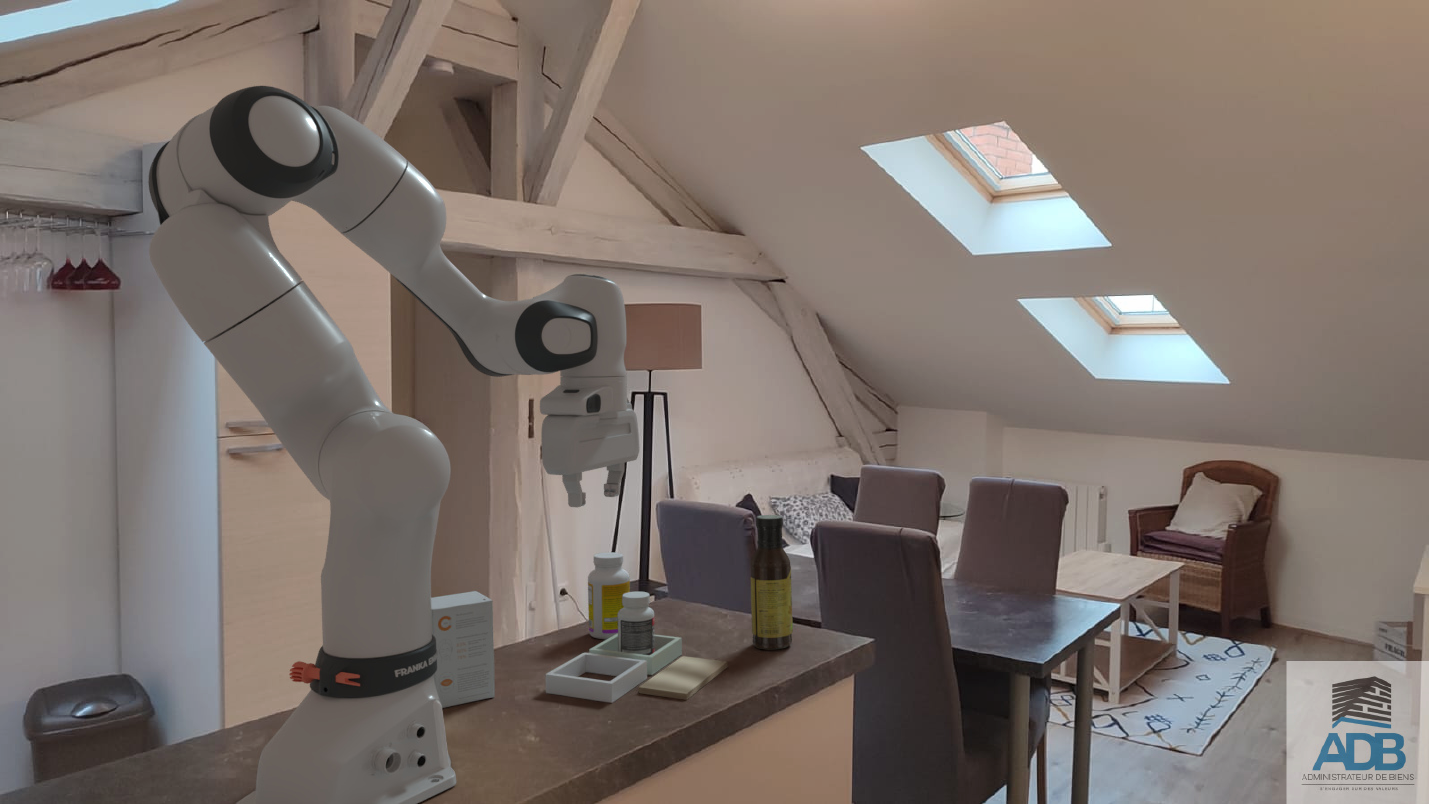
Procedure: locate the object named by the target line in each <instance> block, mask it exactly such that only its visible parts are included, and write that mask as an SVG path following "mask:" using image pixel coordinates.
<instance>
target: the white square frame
mask: <svg viewBox="0 0 1429 804" xmlns="http://www.w3.org/2000/svg"><path fill="white" fill-rule="evenodd" d="M585 673H592V674H597V675H598V674H599V675H606V676H613V679H611V680H602V679H595V678H590V677H589V678H588V677H582V676H581V675H584V674H585ZM614 676H615V677H614ZM647 680H648V674H647V661H646V660H638V659H630V658H623V657H615V656H607V655H600V654H592V653H589V652H582V653H581V654H579V655H577V656H575V657H574V658H572V659H570V660H568V661H566V662H564V663H563V664H561V665H559V666H557V667H556V668H554V669H552V670H551V671H548V672H547V673H545V694H551V695H557V696H564V697H570V698H577V699H585V700H590V701H599V702H603V703H611V704H612V703H614V702H616V701H617V700H618V699H620V698H622V697H623V696H625V694H627V693H628V692H630V691H632V690H633V689H634V688H635V687H637V686H640V685H641V684H642V683H643V682H644V681H647Z"/></svg>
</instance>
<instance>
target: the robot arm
mask: <svg viewBox="0 0 1429 804" xmlns="http://www.w3.org/2000/svg"><path fill="white" fill-rule="evenodd" d="M147 183H148V190H149V194H150V199H151V202H152V205H153V207H154V209H155V210H156V212H157V215H158V222H159V227H158V228H157V229H156V231H155V232H154V234H153V236H152V237H151V239H150V242H149V247H148V252H149V253H148V255H149V259H150V262H151V264H152V267H153V269H154V271H155V273H156V274H157V275H158V278H159V280H160V282H161V284H162V285H163V287H164V289H165V291H166V292H167V294H168V295H169V297H170V298H171V301H172V302H173V303H174V305H175V306H176V308H177V309H178V311H179V312H180V314H181V316H182V317H183V319H184V320H185V321H186V322H187V324H188V325H189V327H190V328H191V330H192V331H193V332H194V333H195V334H196V336H197V337H198V338H199V340H200V341H201V342H202V343H203V345H204V346H205V348H207V349H208V351H209V352H210V353H211V354H212V355H213V357H214V358H215V360H217V361H218V363H219V364H220V365H221V366H222V367H223V369H224V370H225V371H226V373H227V374H228V375H229V376H230V377H231V379H232V380H233V382H235V384H236V386H238V387H239V388H240V390H241V391H242V392H243V394H244V395H246V397H247V398H248V399H249V401H250V402H251V403H252V404H253V405H254V407H255V408H256V409H257V411H258V412H259V413H260V415H261V416H262V418H263V419H264V420H265V422H266V424H267V425H268V426H269V428H270V429H271V430H272V432H273V433H274V435H275V436H276V437H277V439H278V440H279V442H280V443H281V444H282V446H283V447H284V448H285V450H286V451H287V453H288V454H289V455H290V457H291V458H292V459H293V461H294V462H295V463H296V465H297V466H298V468H299V469H300V470H301V471H302V472H303V474H304V475H305V476H306V478H307V479H308V480H309V481H310V483H311V484H312V486H314V488H315V489H316V491H318V493H319V494H320V495H322V496H323V497H324V498H325V499H327V500H328V501H329V504H330V505H329V507H330V508H329V509H330V514H329V515H330V517H329V528H328V529H329V530H328V536H327V537H328V538H327V546H326V553H325V559H324V564H323V567H322V569H321V573H320V587H321V589H320V590H321V593H320V595H321V624H322V625H321V627H322V633H321V634H322V646H320V647H319V650H318V653H317V657H316V660H315V663H307V662H304V661H300V660H299V661H296V662H294V663H293V664H292V665H291V668H290V669H289V676H290V677H289V679H290V680H291V681H292V682H295V683H302V682H303V683H304V684H309V688H310V690H309V692H308V693H307V695H305V697H303V699H302V701H301V702H300V703H299V705H298V706H297V707H296V708H295V709H294V711H293V712H292V713H291V715H290V716H289V717H288V718H287V719H286V720H285V722H284V723H283V725H282V726H281V727H280V728H279V729H278V731H276V733H275V734H274V735H273V737H271V738H270V740H269V741H268V742H267V743H266V745H265V746H264V747H263V749H262V751H261V753H260V757H259V761H258V765H257V771H256V772H257V773H256V781H255V782H256V784H255V790H253V791H252V792H250V793H249V794H247V795H246V796H244V797H243V798H242V799H240V800H238V801H237V802H236V803H235V804H418V803H421V802H423V801H425V800H427V799H429V798H431V797H434V796H436V795H438V794H441V793H442V792H444V791H446V790H449V789H450V788H453V787H454V786H455V785H456V784H457V776H456V775H457V774H456V771H455V770H454V769H453V768H452V766H451V764H452V760H451V757H450V755H449V752H448V744H447V736H446V735H447V734H446V727H445V722H444V713H443V708H442V705H441V702H440V699H439V696H438V693H437V690H436V686H435V681H434V673H435V672H436V671H437V658H438V650H437V649H436V638H435V637H434V636H433V635H432V614H431V598H432V561H433V553H434V552H433V551H434V546H435V541H436V534H437V528H438V523H439V516H440V509H441V503H442V502H441V501H442V499H443V497H444V496H445V494H446V492H447V490H448V487H449V484H450V480H451V470H452V469H451V461H450V457H449V453H448V452H447V450H446V448H445V445H444V444H443V443H442V441H441V440H440V439H439V438H438V436H437V435H436V434H435V433H434V432H433V431H432V430H431V429H430V428H429V427H428V426H427V425H425V424H424V423H423V422H421V421H419V420H417V419H416V418H413V417H410V416H407V415H403V414H398V413H394V412H393V411H392V410H391V409H389V408H388V407H387V406H386V405H385V403H384V402H383V401H382V399H381V398H380V396H379V395H378V393H377V392H376V390H375V387H374V386H373V385H372V383H371V381H370V380H369V378H368V376H367V374H366V373H365V370H364V369H363V368H362V365H361V364H360V361H359V359H358V357H357V355H356V353H355V351H354V348H353V345H352V344H351V342H350V341H349V339H348V338H347V336H346V335H345V334H344V333H343V331H342V330H341V329H340V327H339V326H338V324H336V322H335V321H334V319H333V318H332V316H331V315H330V314H329V313H328V311H327V310H326V308H325V307H324V306H323V305H322V303H321V302H320V301H319V300H318V298H317V297H316V295H315V294H314V292H313V291H312V290H311V288H309V286H308V285H307V284H306V282H305V281H304V280H303V278H302V277H301V276H300V274H299V273H298V272H297V271H296V269H295V268H294V266H292V264H291V263H290V262H289V261H288V259H286V257H285V256H284V255H283V254H282V252H280V250H279V248H278V246H277V244H276V242H275V240H274V237H273V235H272V231H271V228H270V222H269V217H270V216H272V215H274V214H275V213H277V212H278V211H279V210H281V209H282V208H284V207H285V206H287V204H289V203H290V202H292V201H293V202H295V203H299V204H301V205H303V206H304V205H305V206H307V207H308V208H310V209H312V210H313V211H315V212H316V213H317V214H319V215H320V216H321V217H322V218H323V219H324V220H325V221H326V222H327V223H328V224H329V225H330V226H331V227H333V228H334V229H335V230H336V231H338V232H339V233H340V234H341V235H342V236H343V237H345V238H346V239H347V240H349V241H350V242H351V243H352V244H354V246H355V247H357V248H359V249H360V250H361V251H362V252H363V253H365V254H366V255H367V256H369V257H370V259H372V260H374V261H375V262H376V263H378V264H379V265H380V266H381V267H383V268H384V269H385V270H386V271H387V272H388V273H389V274H390V275H392V276H393V278H394V279H395V280H396V281H397V282H398V283H399V284H400V285H401V286H403V288H404V289H406V291H408V292H409V293H410V294H411V295H412V296H413V297H414V298H415V299H416V300H418V302H420V304H422V305H423V307H425V308H426V310H428V311H429V312H430V313H431V314H432V315H434V317H435V318H437V319H438V320H439V321H440V322H441V323H442V324H443V325H444V326H445V327H446V328H447V329H448V330H449V331H450V333H451V334H452V336H453V337H454V338H455V340H456V342H457V343H458V345H459V348H460V349H461V351H462V353H463V355H464V357H465V358H466V360H467V361H468V362H469V364H470V365H471V366H473V368H475V370H476V371H478V372H480V373H482V374H484V375H486V376H488V377H497V378H500V377H507V376H514V375H517V376H518V375H521V376H531V375H532V376H533V375H539V376H541V375H550V374H551V375H552V374H554V373H557V372H559V373H560V374H559V375H560V377H559V379H560V383H559V384H560V385H556V387H555V388H553V390H552V391H550V392H549V393H547V394H545V395H544V396H543V397H541V399H540V401H539V411H540V414H541V415H543V416H545V417H544V418H543V421H542V425H541V434H540V435H541V440H540V441H541V460H542V466H543V468H544V470H545V472H546V474H548V475H553V476H555V475H556V476H562V477H561V478H562V484H563V486H564V488H565V490H566V492H567V494H568V495H567V498H568V499H567V501H568V502H567V504H568V507H570V508H580V507H584V506H585V505H586V503H587V502H586V498H587V497H586V493H587V492H584V491H583V489H582V486H581V482H582V480H583V473H584V472H587V471H593V470H597V469H603V468H606V471H607V472H608V473H607V477H606V482H605V483H604V484H603V496H604V497H606V498H616V497H619V496H620V494H621V482H622V478H623V477H624V473H625V464H626V463H628V462H633V461H637V459H638V458H639V457H638V456H639V453H640V436H639V425H638V417H637V413H636V412H635V410H634V409H633V405H632V403H631V402H630V400H629V398H628V371H627V369H626V365H625V360H624V359H625V350H626V347H627V342H628V341H627V318H626V317H627V315H626V314H627V313H626V305H625V300H624V297H623V296H624V295H623V293H622V291H621V287H620V286H619V285H618V284H617V283H616V282H614V281H613V280H611V279H609V278H606V277H603V276H600V275H591V274H584V273H583V274H581V273H578V274H577V273H576V274H571V275H568V276H566V277H565V278H564V279H563V281H562V282H561V283H559V284H558V285H556V286H555V287H554V288H551V289H550V290H548V291H546V292H543V293H541V294H539V295H536V296H533V297H532V298H530V299H529V298H528V299H521V300H513V301H511V300H509V301H508V300H500V299H498V298H493V297H490V296H488V295H487V294H484V293H483V292H482V291H481V290H479V288H478V287H477V286H476V285H475V284H473V282H472V281H470V280H469V278H467V277H466V276H465V275H464V273H462V271H460V270H459V269H458V268H457V266H455V265H454V264H453V263H452V262H451V261H450V259H448V257H447V256H446V255H445V254H444V252H443V250H442V247H441V242H442V239H443V237H444V235H445V231H446V227H447V226H446V225H447V209H446V205H445V201H444V199H443V198H442V196H441V195H440V193H439V192H438V191H437V189H436V188H435V186H434V185H433V184H432V183H431V182H430V181H429V179H428V178H427V177H426V176H425V175H424V174H423V173H422V172H421V171H420V170H419V169H417V167H415V165H413V164H412V163H411V162H410V161H409V160H408V159H407V158H405V156H403V154H401V153H400V152H399V151H398V150H396V149H395V148H394V147H393V146H392V145H391V144H389V143H388V142H387V141H385V140H384V139H383V138H382V137H381V136H379V135H378V134H377V133H375V132H374V131H372V130H371V129H369V127H367V126H366V125H364V124H363V123H361V122H360V121H358V120H357V119H355V118H353V117H352V116H350V115H348V113H345V112H343V111H342V110H340V109H338V108H336V107H334V106H329V105H316V106H315V105H314V106H312V105H310V104H308V103H307V102H306V101H305V100H303V99H302V98H300V97H299V96H296V95H294V94H292V93H291V92H289V91H287V90H284V89H280V88H278V87H274V86H270V85H253V86H248V87H244V88H242V89H239V90H236V91H234V92H231V93H229V94H227V95H226V96H223V98H221V100H219V102H218V103H217V104H215V105H214V106H212V107H210V108H208V109H207V110H206V111H204V112H202V113H200V114H198V115H196V116H194V117H192V118H191V119H189V120H188V121H187V122H186V123H185V124H184V125H183V126H182V127H181V128H180V129H179V130H178V131H177V132H176V133H175V134H174V135H173V136H172V138H171V139H170V140H169V141H167V142H166V143H164V144H163V145H162V146H161V147H160V148H159V150H158V151H157V152H156V154H155V156H154V158H153V160H152V163H151V165H150V168H149V171H148V182H147Z"/></svg>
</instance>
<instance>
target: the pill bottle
mask: <svg viewBox="0 0 1429 804" xmlns="http://www.w3.org/2000/svg"><path fill="white" fill-rule="evenodd" d="M650 598H651V597H650V593H649V592H645V591H630V592H628V593H625V594H623V596H622V605H623V606H624V608H622V609H621V610H620V611H619V612H618V651H619V652H627V653H635V654H642V655H651V654H653V653H654V652H655V635H656V633H655V632H656V631H655V628H656V627H655V624H656V623H655V622H656V621H655V619H656V618H655V612H654V610H653V608H651V607H649V605H650V602H651V599H650Z"/></svg>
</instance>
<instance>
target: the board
mask: <svg viewBox="0 0 1429 804" xmlns="http://www.w3.org/2000/svg"><path fill="white" fill-rule="evenodd" d="M727 668H728V661H726V660H725V661H724V660H717V659H709V658H703V657H702V658H701V657H692V656H685V655H683V656H682V655H681V657H678V658H677V660H676V659H675V661H672V662H671V663H670V664H668V665H667V666H665V667H664V668H662V670H660V671H658V673H655V675H654V676H653V675H652V677H651V678H650V679H647V680H645V682H644V683H643V682H642V683H641V684H640V685H638V694H643V695H644V694H645V695H650V696H658V697H664V698H665V697H666V698H672V699H678V700H685V701H688V699H690V698H691V697H692V696H694V695H695V694H696V693H697V692H698V691H700V690H701V689H702V688H703V687H705V686H706V685H708V683H710V682H711V681H712V680H713V679H714V678H716V677H717V676H718V675H719V674H721V673H722V672H724V670H726V669H727Z"/></svg>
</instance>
